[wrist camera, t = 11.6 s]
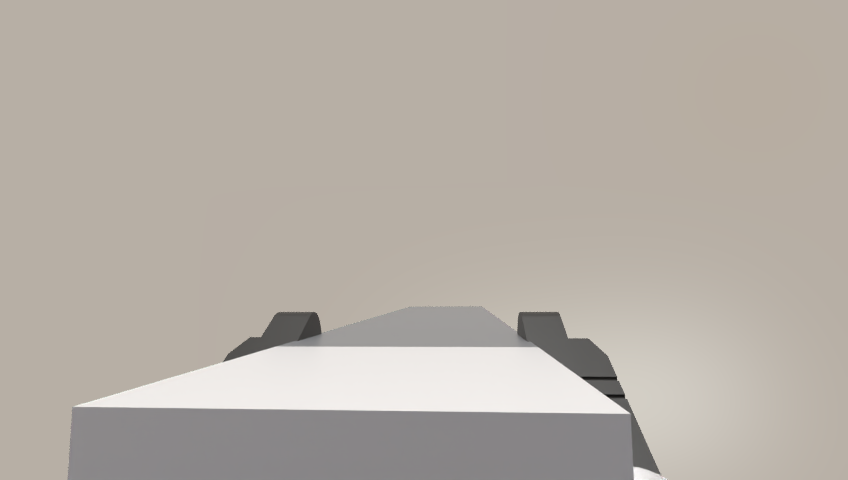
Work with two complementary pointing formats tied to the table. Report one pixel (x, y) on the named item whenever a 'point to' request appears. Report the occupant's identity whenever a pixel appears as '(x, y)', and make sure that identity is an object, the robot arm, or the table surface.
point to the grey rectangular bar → (364, 411)
